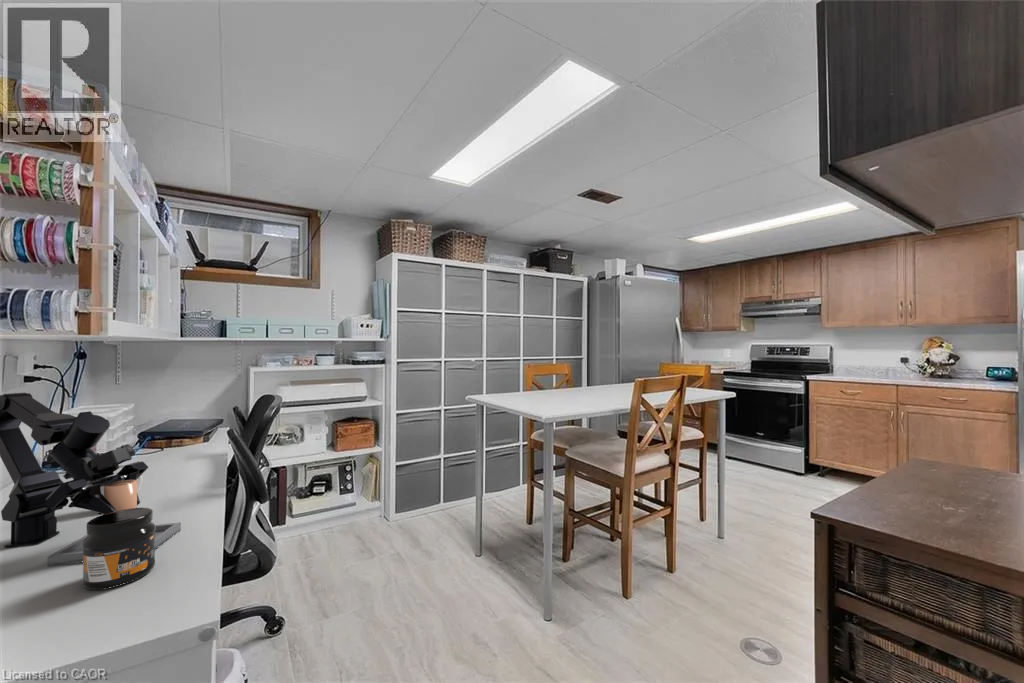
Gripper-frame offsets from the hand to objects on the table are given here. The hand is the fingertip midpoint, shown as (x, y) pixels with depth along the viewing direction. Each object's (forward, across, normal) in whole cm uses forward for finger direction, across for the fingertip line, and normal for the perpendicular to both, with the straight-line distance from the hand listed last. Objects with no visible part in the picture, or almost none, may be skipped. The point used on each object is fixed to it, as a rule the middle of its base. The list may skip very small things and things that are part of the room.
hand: (126, 509), depth 95 cm
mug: (-12, +24, +24) cm, 37 cm away
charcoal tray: (+5, 0, +7) cm, 9 cm away
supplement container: (+14, -13, -2) cm, 20 cm away
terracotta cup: (+4, 0, +6) cm, 7 cm away
